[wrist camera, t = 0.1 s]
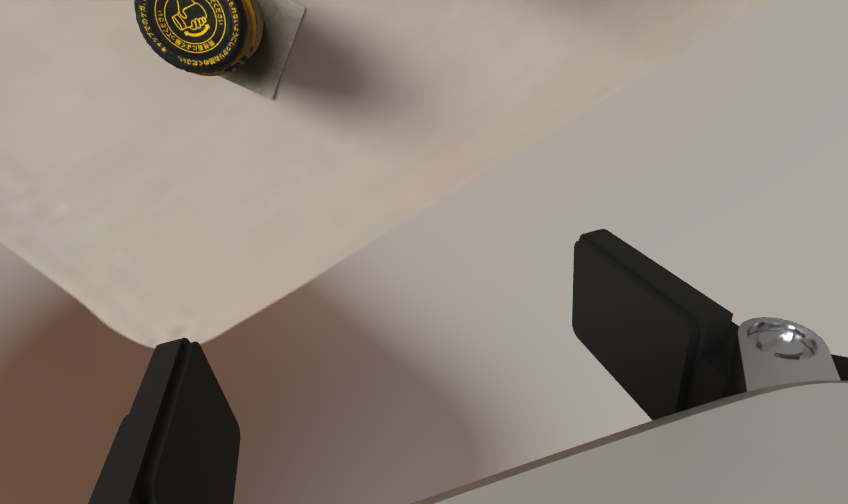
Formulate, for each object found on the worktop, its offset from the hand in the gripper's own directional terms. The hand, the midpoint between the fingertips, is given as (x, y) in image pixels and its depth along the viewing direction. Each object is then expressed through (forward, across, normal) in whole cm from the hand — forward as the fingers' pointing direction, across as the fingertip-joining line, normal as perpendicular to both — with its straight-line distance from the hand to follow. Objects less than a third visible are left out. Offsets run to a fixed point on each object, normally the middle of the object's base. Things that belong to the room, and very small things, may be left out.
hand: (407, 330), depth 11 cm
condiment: (+31, +5, -7) cm, 33 cm away
